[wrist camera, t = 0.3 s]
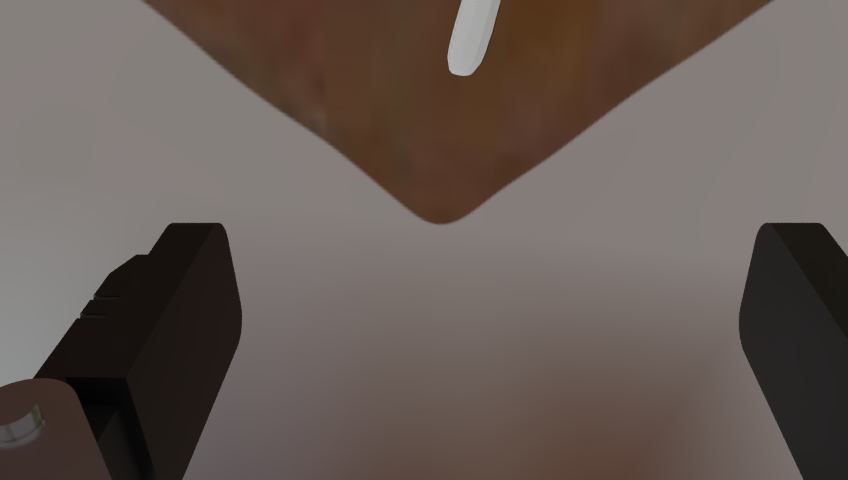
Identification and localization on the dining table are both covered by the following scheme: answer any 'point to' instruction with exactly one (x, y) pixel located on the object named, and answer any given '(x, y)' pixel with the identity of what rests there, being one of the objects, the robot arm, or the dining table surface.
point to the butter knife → (471, 35)
